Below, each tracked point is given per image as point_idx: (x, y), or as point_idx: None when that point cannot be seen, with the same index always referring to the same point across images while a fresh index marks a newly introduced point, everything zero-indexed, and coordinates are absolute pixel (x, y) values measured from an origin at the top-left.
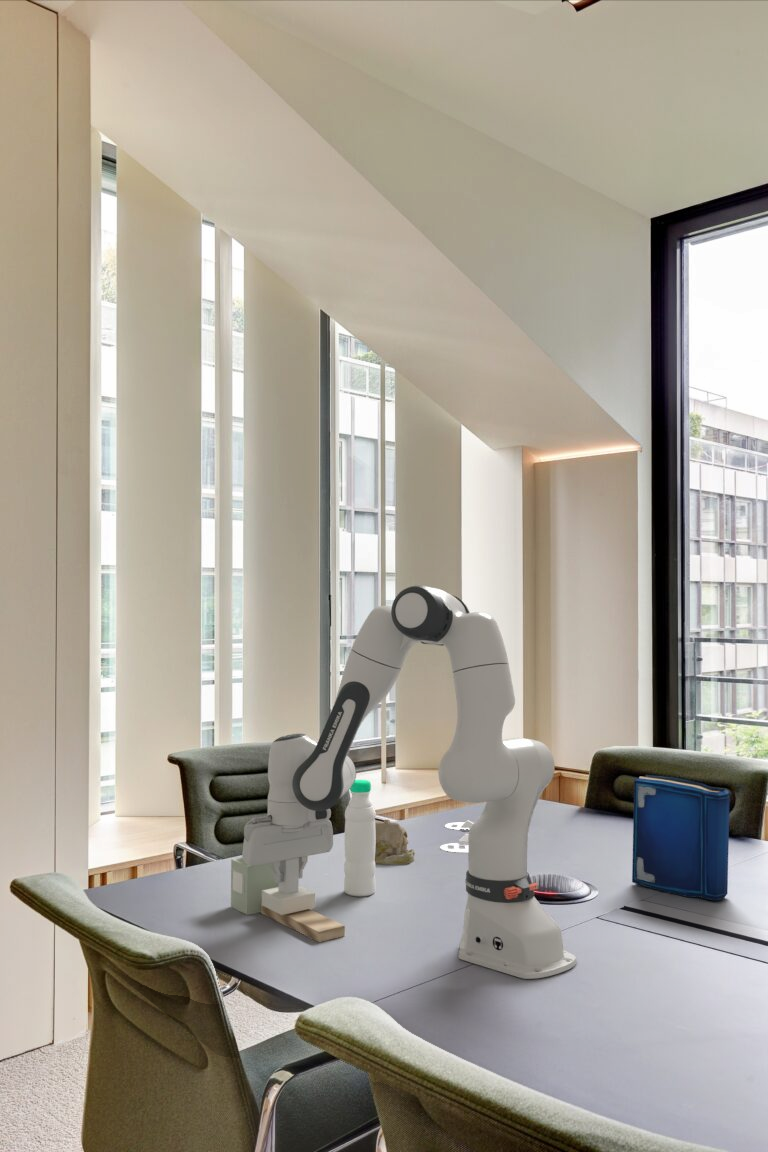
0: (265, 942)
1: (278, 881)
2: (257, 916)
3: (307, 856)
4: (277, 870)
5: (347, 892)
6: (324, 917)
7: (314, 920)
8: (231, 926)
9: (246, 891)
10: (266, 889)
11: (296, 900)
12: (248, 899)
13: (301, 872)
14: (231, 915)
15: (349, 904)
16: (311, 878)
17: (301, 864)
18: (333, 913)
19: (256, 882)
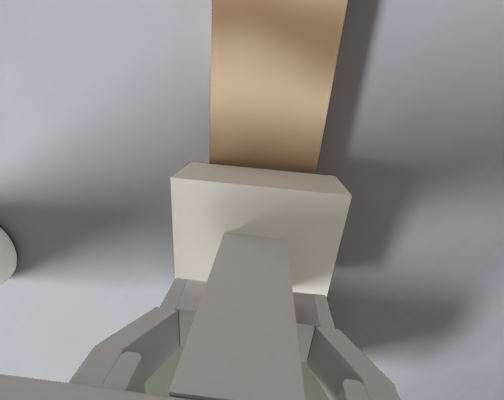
0: (480, 73)
1: (325, 296)
2: None
3: (69, 382)
4: (353, 352)
5: (12, 252)
6: (220, 49)
7: (275, 45)
8: (420, 261)
9: None
10: None
11: (272, 182)
12: None
13: (173, 297)
14: (354, 318)
15: (44, 188)
16: (53, 377)
17: (147, 343)
18: (125, 156)
19: (309, 378)
